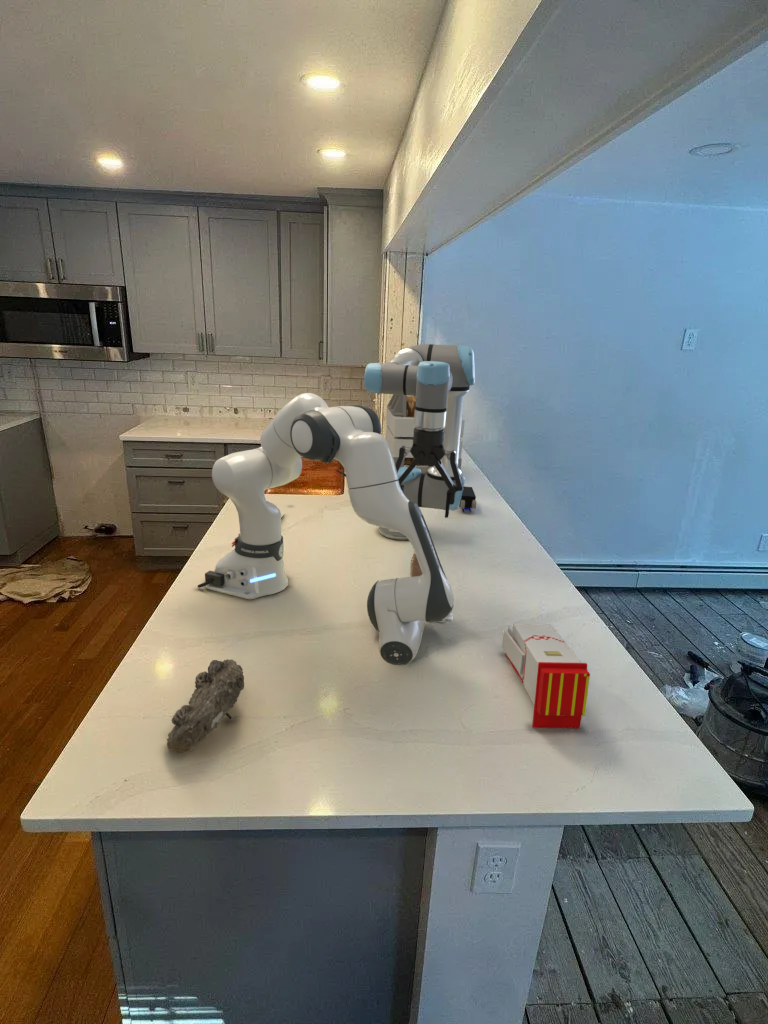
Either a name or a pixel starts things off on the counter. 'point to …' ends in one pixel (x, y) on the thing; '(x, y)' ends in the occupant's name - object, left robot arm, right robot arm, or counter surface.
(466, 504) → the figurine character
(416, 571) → the bottle
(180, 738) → the fossil
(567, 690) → the toy
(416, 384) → the right robot arm
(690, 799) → the counter surface
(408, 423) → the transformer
